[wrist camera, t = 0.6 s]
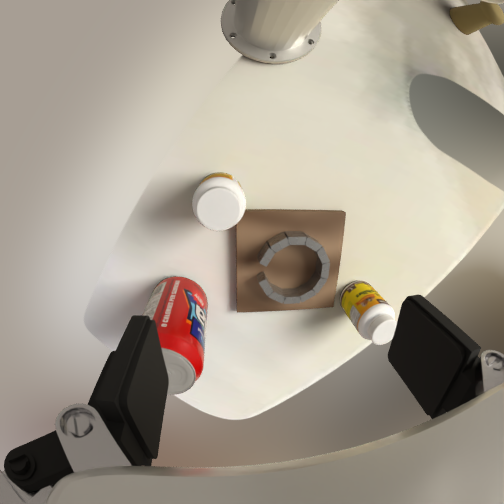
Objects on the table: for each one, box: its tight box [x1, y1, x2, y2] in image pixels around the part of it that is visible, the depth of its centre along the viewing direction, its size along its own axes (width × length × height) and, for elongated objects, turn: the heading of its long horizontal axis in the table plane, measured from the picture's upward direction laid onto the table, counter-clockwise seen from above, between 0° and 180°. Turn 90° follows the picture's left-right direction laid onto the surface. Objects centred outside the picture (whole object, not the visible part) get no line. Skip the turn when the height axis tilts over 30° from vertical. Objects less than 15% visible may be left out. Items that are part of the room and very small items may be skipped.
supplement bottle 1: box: [192, 172, 246, 231], centre depth 29 cm, size 5×5×10 cm
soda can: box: [143, 277, 208, 395], centre depth 31 cm, size 8×8×15 cm
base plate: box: [236, 209, 346, 312], centre depth 37 cm, size 14×14×1 cm
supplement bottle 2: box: [340, 281, 397, 345], centre depth 36 cm, size 6×6×10 cm
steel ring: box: [257, 231, 330, 304], centre depth 35 cm, size 9×9×2 cm
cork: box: [450, 1, 504, 35], centre depth 20 cm, size 6×6×11 cm
